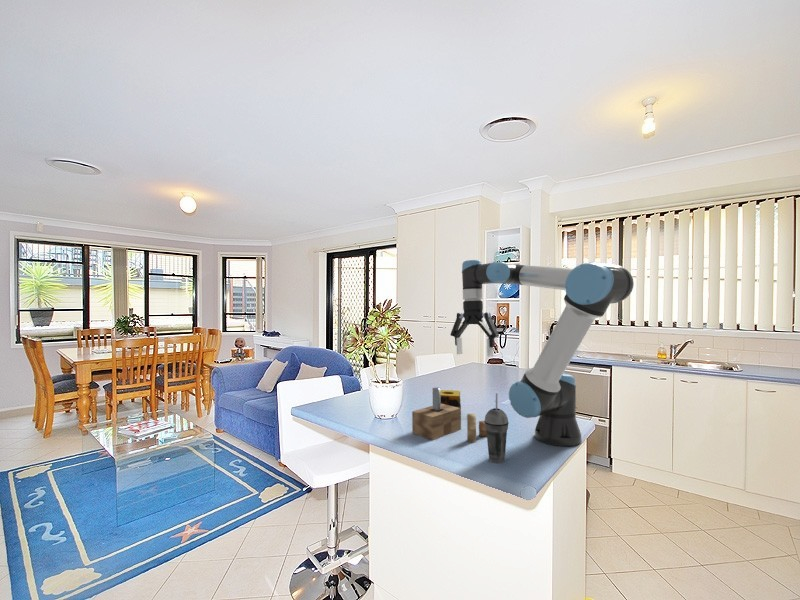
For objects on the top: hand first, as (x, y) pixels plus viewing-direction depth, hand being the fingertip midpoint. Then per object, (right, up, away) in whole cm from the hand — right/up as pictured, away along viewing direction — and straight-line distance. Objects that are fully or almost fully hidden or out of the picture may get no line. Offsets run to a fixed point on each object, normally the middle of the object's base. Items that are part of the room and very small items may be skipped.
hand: (474, 355), depth 150 cm
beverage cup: (+1, -28, -32) cm, 42 cm away
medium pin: (-4, -28, -16) cm, 32 cm away
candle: (-8, -28, +13) cm, 32 cm away
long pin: (-15, -28, -5) cm, 32 cm away
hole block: (-15, -28, -5) cm, 32 cm away
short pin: (+1, -28, -11) cm, 30 cm away
